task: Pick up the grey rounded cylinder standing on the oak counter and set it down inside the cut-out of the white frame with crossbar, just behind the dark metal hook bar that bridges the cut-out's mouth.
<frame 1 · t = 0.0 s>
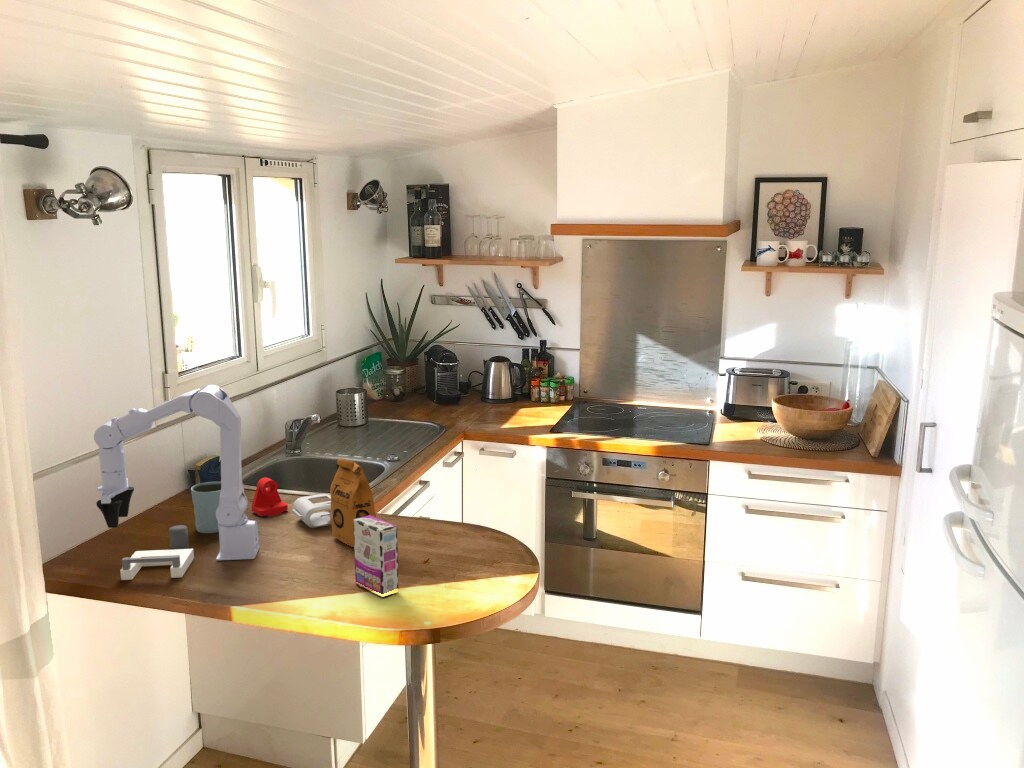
hand: (118, 521, 213), 10 cm above the worktop, fingers open, 7 cm apart
grey rounded cylinder: (179, 550, 222), on the worktop
bracket: (270, 513, 250), on the worktop
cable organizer: (318, 524, 241), on the worktop
coffee package: (354, 541, 228), on the worktop
white frame with crossbar: (158, 568, 210), on the worktop
candy bar box: (377, 589, 199), on the worktop
pale teal cup: (213, 528, 238), on the worktop
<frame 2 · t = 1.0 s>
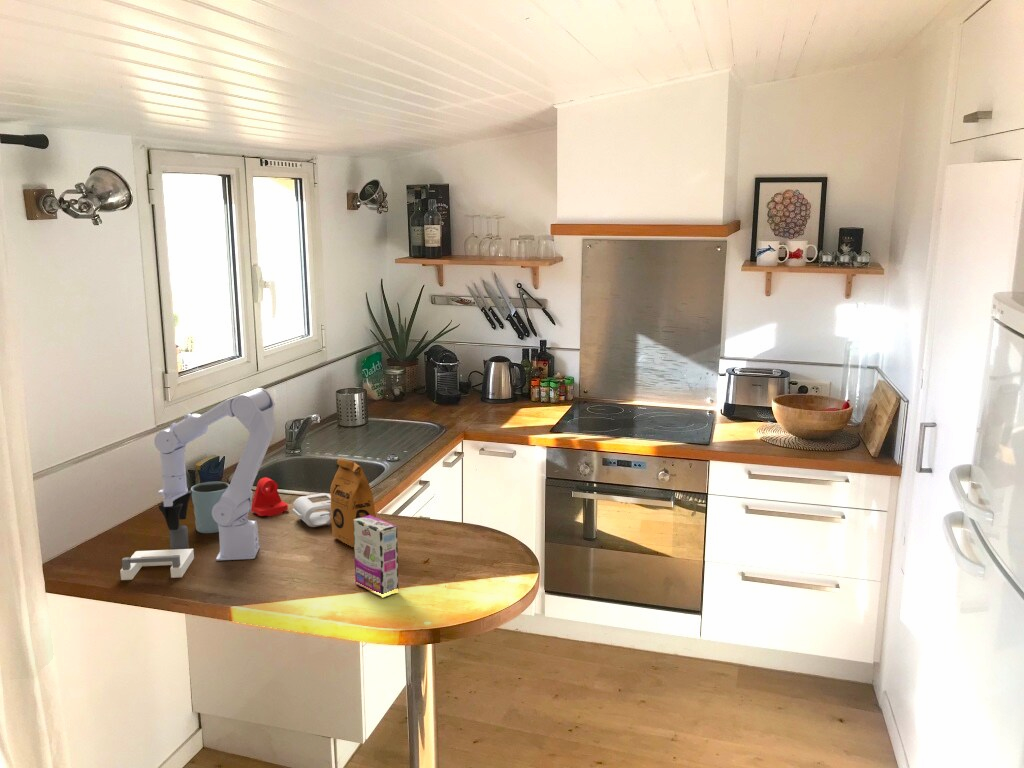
hand: (177, 524, 220), 7 cm above the worktop, fingers open, 7 cm apart
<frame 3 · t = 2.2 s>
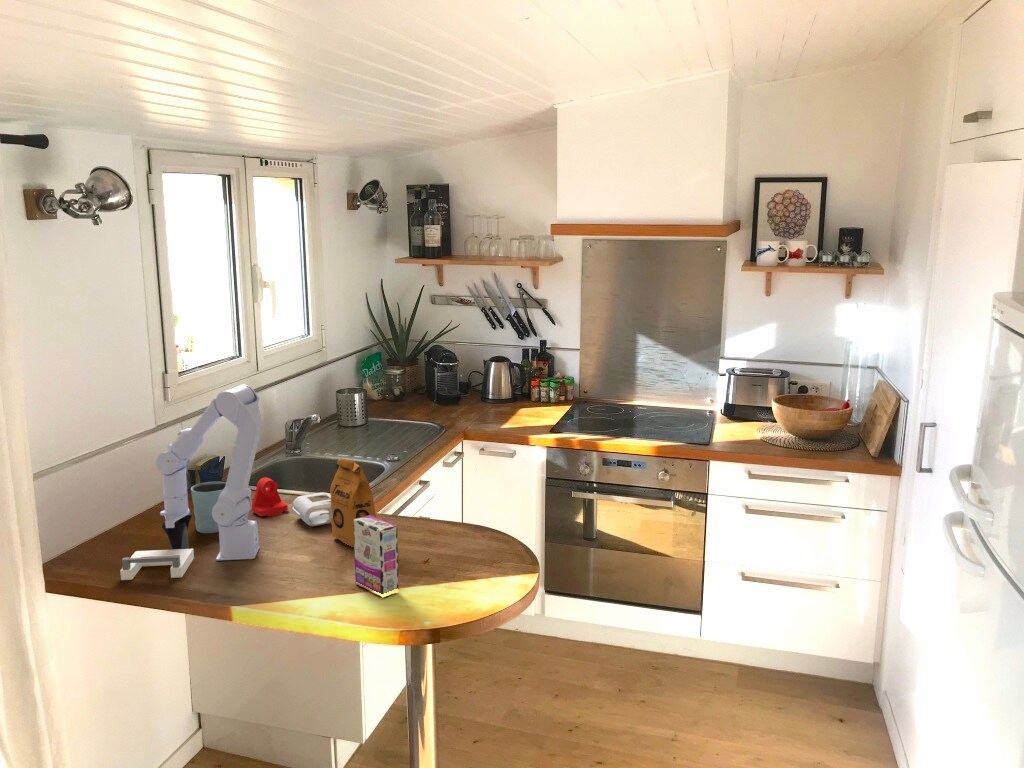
hand: (179, 544, 221), 1 cm above the worktop, fingers closed on grey rounded cylinder, 4 cm apart
grey rounded cylinder: (179, 549, 222), on the worktop, touching gripper
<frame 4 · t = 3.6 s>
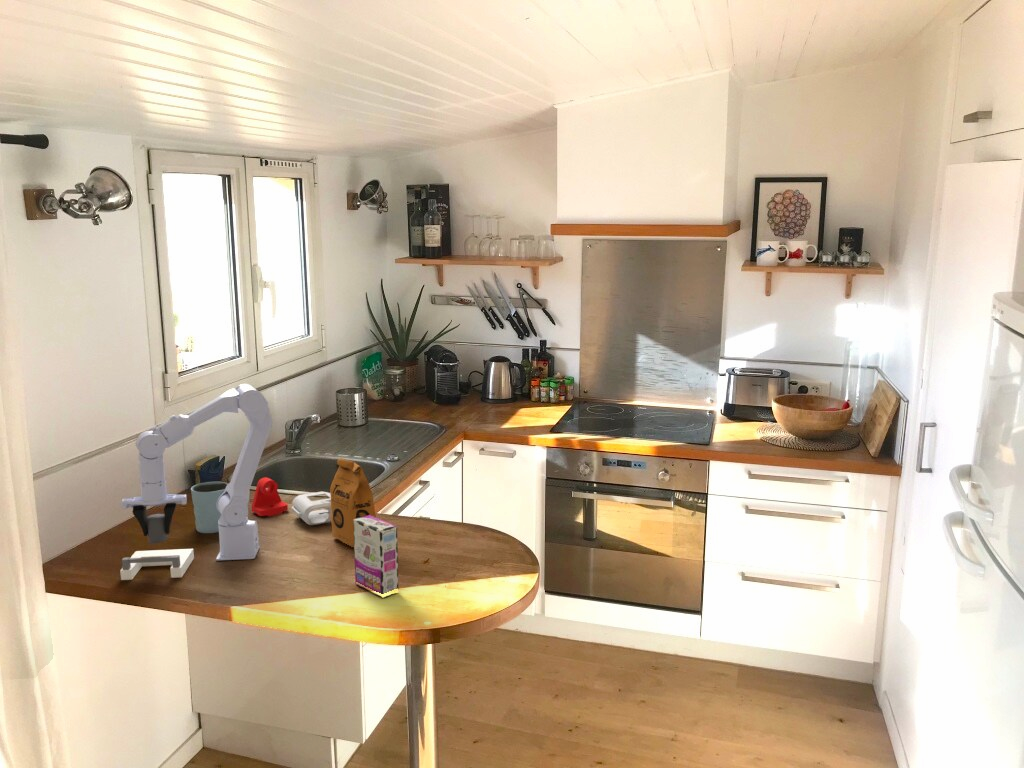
hand: (157, 533, 208), 9 cm above the worktop, fingers closed on grey rounded cylinder, 4 cm apart
grey rounded cylinder: (157, 540, 209), point 7 cm above the worktop, touching gripper
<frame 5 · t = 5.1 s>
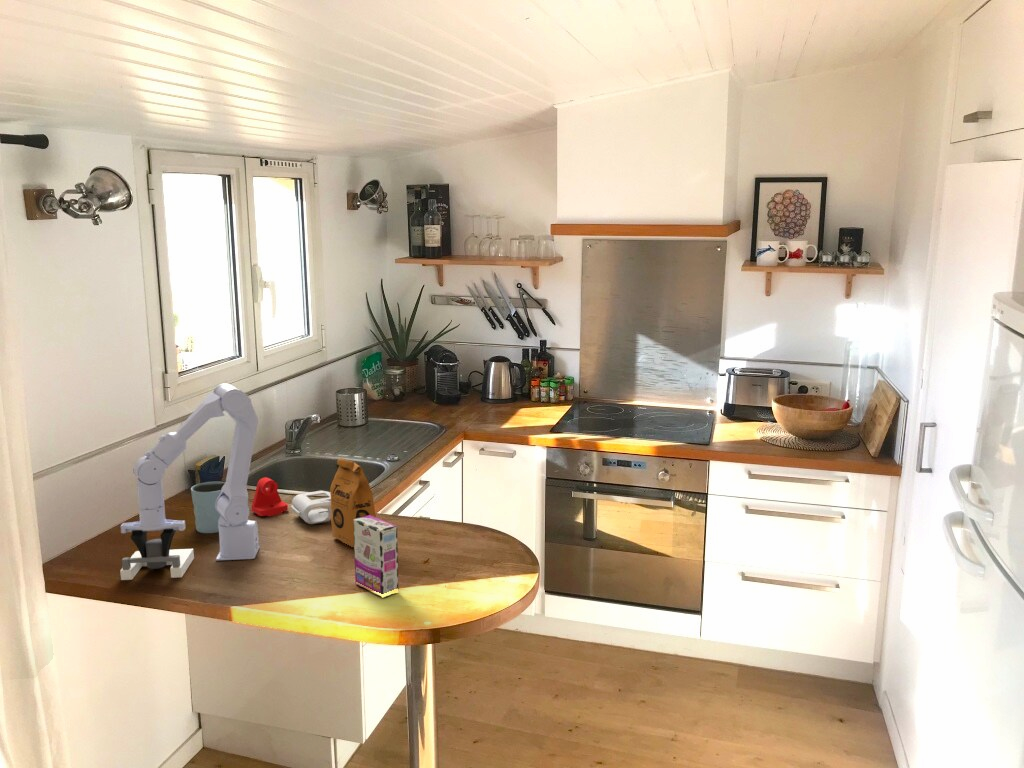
hand: (156, 558, 208), 3 cm above the worktop, fingers closed on grey rounded cylinder, 4 cm apart
grey rounded cylinder: (156, 565, 208), point 1 cm above the worktop, touching gripper
when the fingers open (3 cm above the worktop, at t = 5.3 s): grey rounded cylinder drops 1 cm, on the worktop.
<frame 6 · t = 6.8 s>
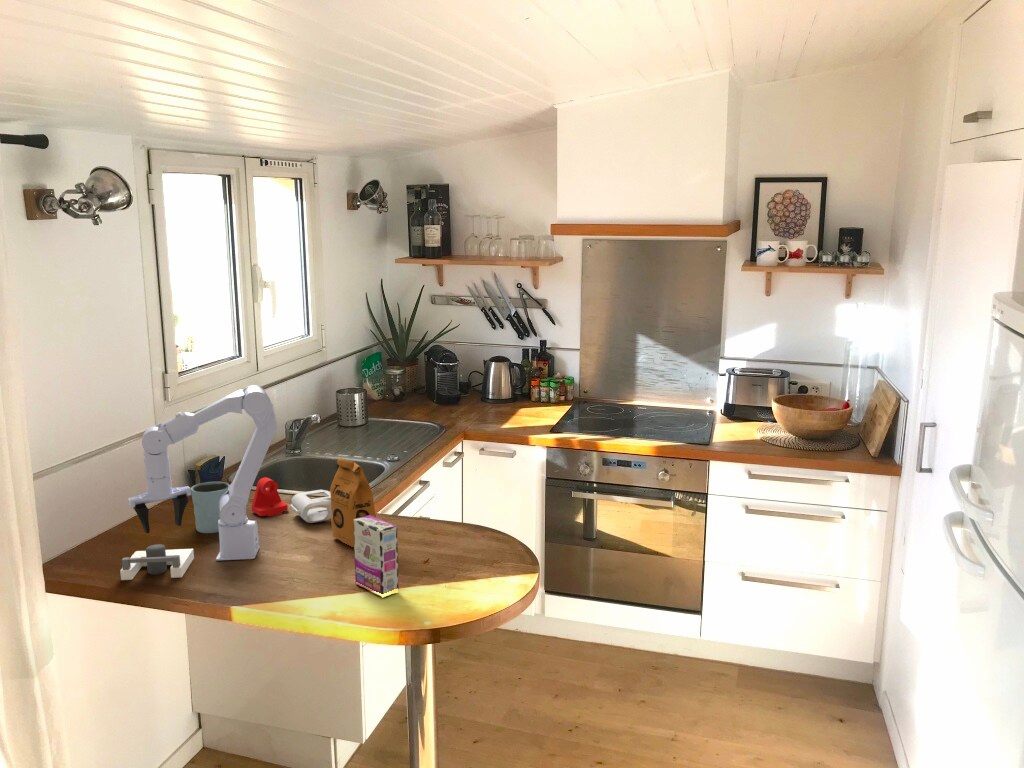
hand: (162, 528, 211), 9 cm above the worktop, fingers open, 7 cm apart
grey rounded cylinder: (157, 570, 208), on the worktop
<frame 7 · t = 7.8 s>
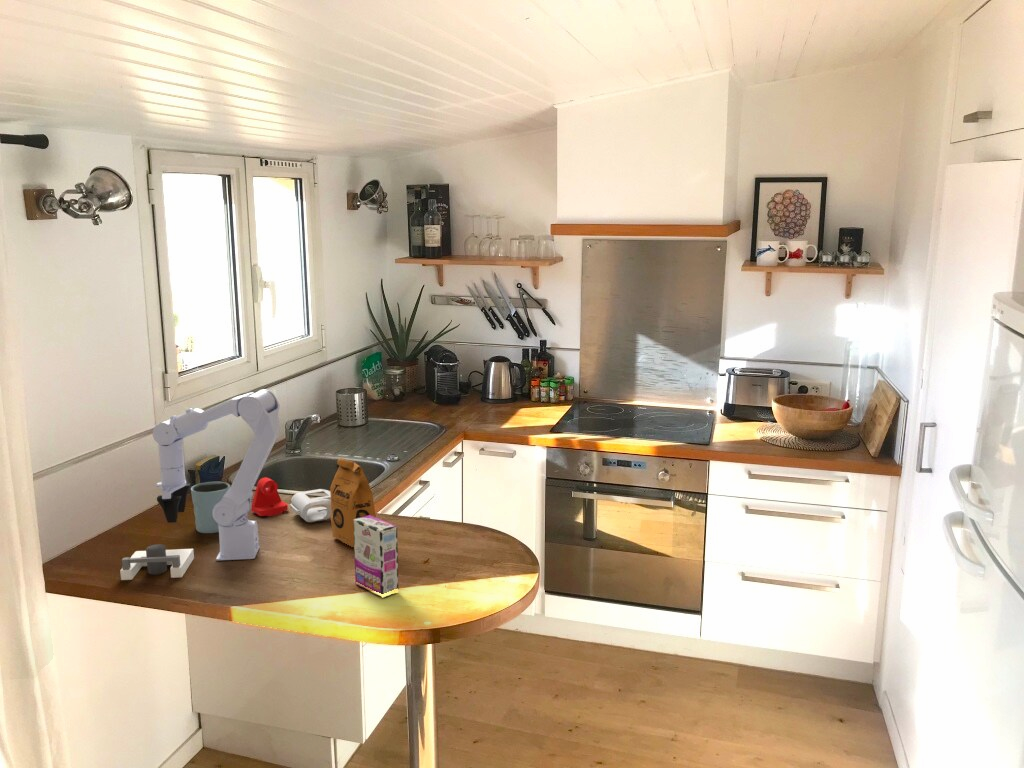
hand: (176, 516, 219), 9 cm above the worktop, fingers open, 7 cm apart
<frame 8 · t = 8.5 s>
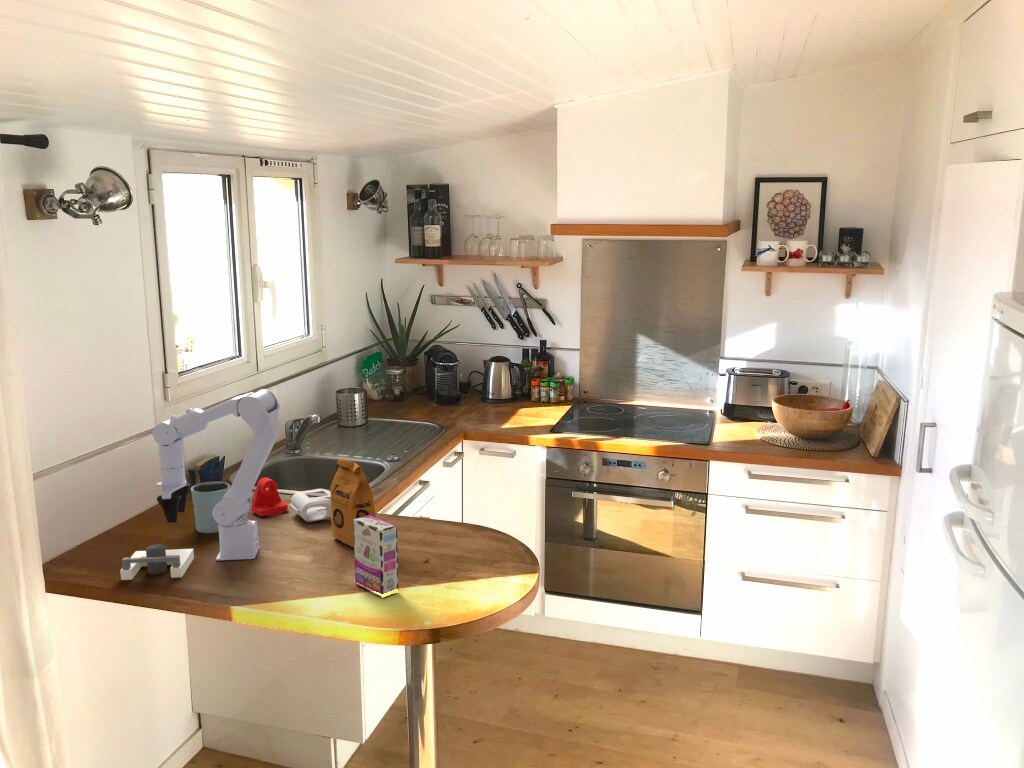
hand: (176, 516, 219), 9 cm above the worktop, fingers open, 7 cm apart
at the end: grey rounded cylinder inside the target area on the white frame with crossbar (0.8 cm from its centre), point 0.0 cm above the white frame with crossbar's base; grey rounded cylinder tilted 0°; the gripper is holding nothing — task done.
